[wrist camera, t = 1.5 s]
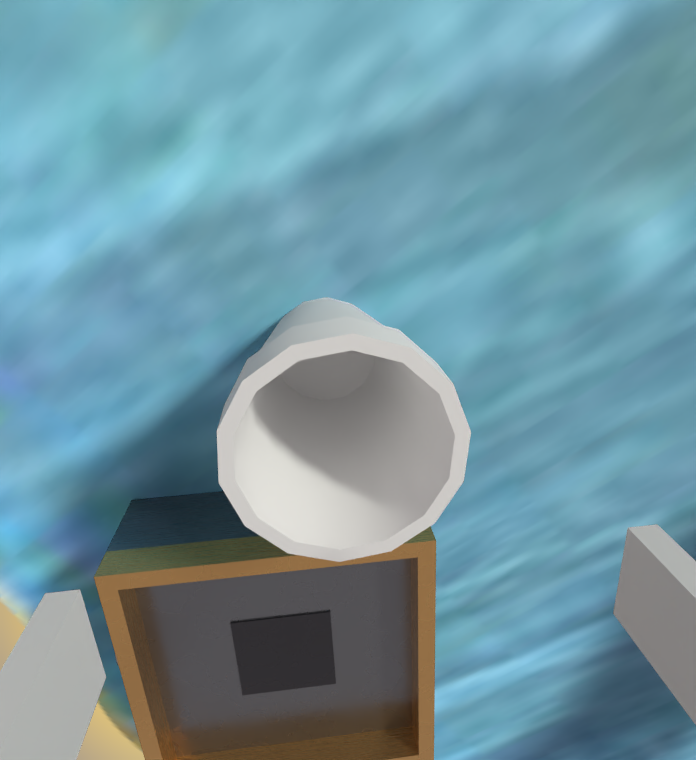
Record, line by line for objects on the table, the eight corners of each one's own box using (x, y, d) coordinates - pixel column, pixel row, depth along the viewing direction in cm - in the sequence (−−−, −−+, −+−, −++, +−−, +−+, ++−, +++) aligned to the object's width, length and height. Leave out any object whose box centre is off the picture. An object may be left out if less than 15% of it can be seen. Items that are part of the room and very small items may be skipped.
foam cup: (308, 448, 34) (317, 598, 22) (211, 336, 31) (159, 440, 19) (432, 362, 33) (514, 471, 21) (344, 236, 30) (381, 279, 17)
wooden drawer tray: (409, 473, 35) (435, 540, 29) (411, 672, 42) (433, 763, 35) (105, 502, 34) (61, 580, 27) (157, 703, 40) (131, 805, 34)
